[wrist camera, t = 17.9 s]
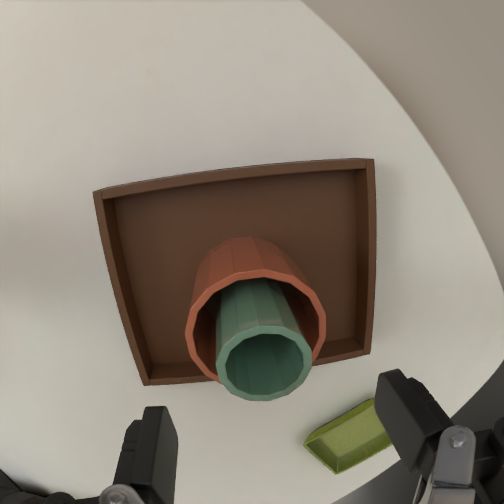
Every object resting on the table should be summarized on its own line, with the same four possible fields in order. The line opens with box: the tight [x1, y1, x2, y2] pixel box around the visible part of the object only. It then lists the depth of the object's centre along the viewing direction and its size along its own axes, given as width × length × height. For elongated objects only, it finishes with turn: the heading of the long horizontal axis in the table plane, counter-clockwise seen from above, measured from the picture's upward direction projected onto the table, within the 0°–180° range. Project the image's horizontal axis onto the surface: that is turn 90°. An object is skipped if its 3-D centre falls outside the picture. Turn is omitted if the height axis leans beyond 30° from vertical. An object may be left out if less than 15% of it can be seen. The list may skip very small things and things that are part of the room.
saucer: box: [304, 398, 393, 474], centre depth 27 cm, size 9×9×2 cm
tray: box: [93, 158, 376, 386], centre depth 21 cm, size 17×14×3 cm
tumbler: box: [185, 236, 326, 385], centre depth 19 cm, size 7×7×7 cm
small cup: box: [216, 277, 312, 401], centre depth 18 cm, size 4×4×9 cm
